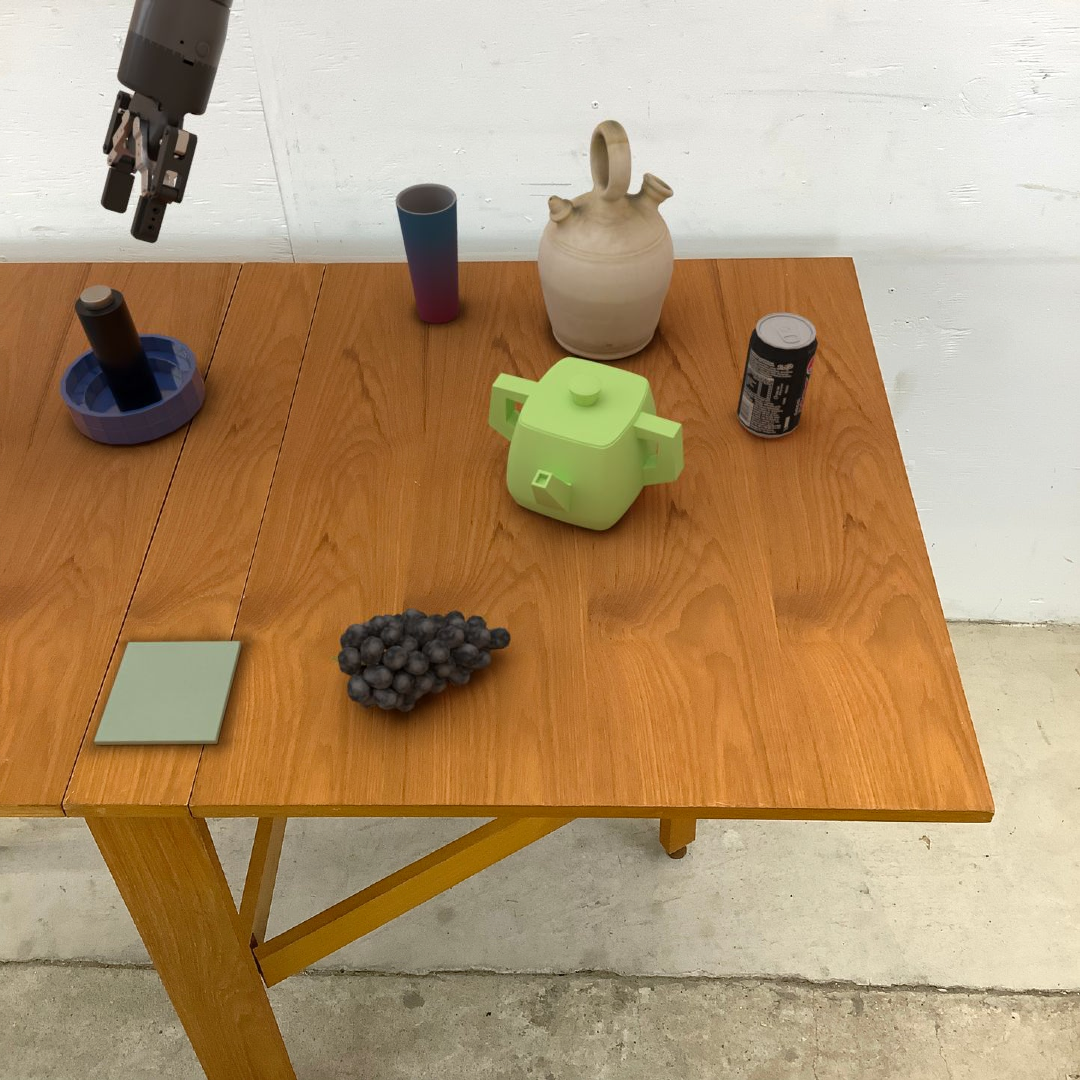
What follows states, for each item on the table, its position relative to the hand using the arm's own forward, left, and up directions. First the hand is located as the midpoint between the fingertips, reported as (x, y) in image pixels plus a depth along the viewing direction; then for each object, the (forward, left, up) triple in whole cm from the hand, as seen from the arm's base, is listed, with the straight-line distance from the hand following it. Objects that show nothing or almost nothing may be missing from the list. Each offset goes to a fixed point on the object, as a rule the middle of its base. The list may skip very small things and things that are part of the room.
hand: (127, 224), depth 90 cm
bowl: (-7, +2, -23) cm, 25 cm away
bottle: (-7, +2, -23) cm, 24 cm away
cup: (+25, +19, -24) cm, 40 cm away
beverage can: (+62, -2, -24) cm, 67 cm away
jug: (+45, +15, -24) cm, 53 cm away
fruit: (+28, -35, -24) cm, 51 cm away
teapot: (+41, -13, -24) cm, 49 cm away
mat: (+6, -36, -23) cm, 43 cm away
